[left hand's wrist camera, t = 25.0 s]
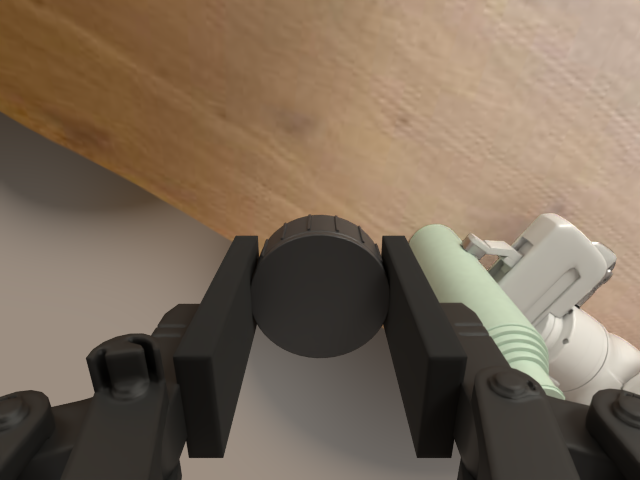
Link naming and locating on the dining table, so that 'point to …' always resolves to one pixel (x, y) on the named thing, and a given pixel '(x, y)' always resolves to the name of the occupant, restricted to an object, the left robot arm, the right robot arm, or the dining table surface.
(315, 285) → the cap
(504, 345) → the bottle
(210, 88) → the dining table surface
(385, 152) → the dining table surface
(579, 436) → the left robot arm
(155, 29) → the dining table surface
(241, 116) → the dining table surface
